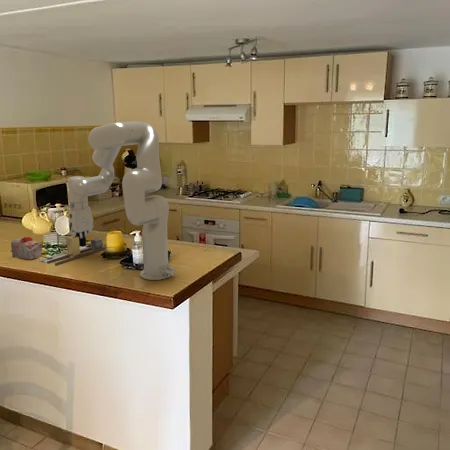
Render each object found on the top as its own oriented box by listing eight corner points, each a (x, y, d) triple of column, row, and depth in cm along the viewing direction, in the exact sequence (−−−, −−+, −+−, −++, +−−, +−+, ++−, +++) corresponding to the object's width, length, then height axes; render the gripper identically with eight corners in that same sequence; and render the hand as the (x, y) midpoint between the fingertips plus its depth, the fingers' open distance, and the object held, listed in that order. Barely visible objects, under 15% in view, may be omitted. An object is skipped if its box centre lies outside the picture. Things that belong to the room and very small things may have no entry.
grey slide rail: (108, 251, 213) (107, 238, 211) (53, 269, 188) (52, 255, 187) (90, 247, 219) (89, 234, 217) (35, 264, 194) (33, 250, 193)
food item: (46, 258, 203) (44, 236, 200) (31, 263, 196) (29, 241, 193) (24, 254, 209) (22, 233, 206) (9, 259, 202) (6, 237, 199)
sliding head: (80, 256, 201) (78, 236, 198) (73, 258, 198) (71, 238, 195) (67, 253, 205) (65, 233, 203) (60, 255, 202) (58, 235, 200)
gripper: (70, 209, 190) (74, 251, 195) (98, 203, 203) (101, 243, 207) (58, 207, 194) (62, 248, 199) (86, 201, 207) (90, 240, 211)
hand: (82, 246), depth 203 cm, fingers closed
